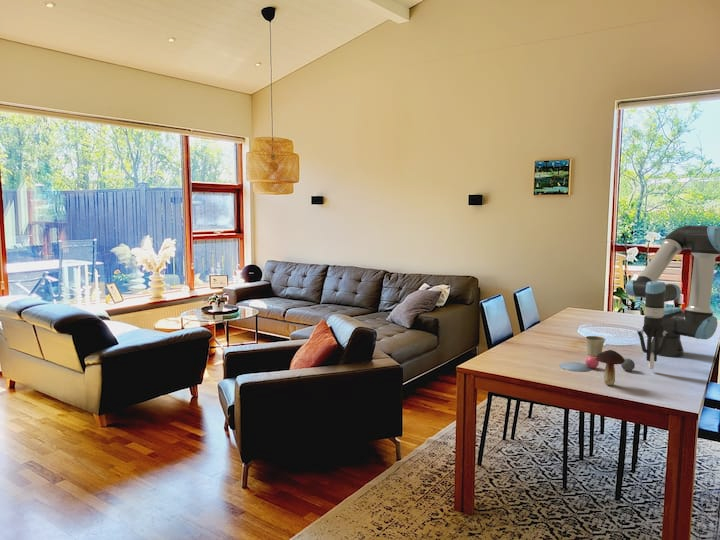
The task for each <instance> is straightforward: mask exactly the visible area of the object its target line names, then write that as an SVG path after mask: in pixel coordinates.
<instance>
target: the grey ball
mask: <svg viewBox="0 0 720 540" xmlns="http://www.w3.org/2000/svg"><path fill="white" fill-rule="evenodd" d="M624 360H625V362H624V363H622V364H620V365H621V368H622V369H623V370H624V371H627V372H630V371H633V370H634V369H635V366H636V364H635V362H634V361H633V360H632V359H631V358H624Z"/></svg>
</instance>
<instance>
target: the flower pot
mask: <svg viewBox="0 0 720 540" xmlns="http://www.w3.org/2000/svg"><path fill="white" fill-rule="evenodd" d="M584 338H585V339H584V340H585V342H586V349H587V351H586V352H587V355H589V357H590V356H593V357H597V355H598V354H600V353H602V352H603V346H604V343H605V341H606V338H604V337H602V336H595V335H588V336H587V335H586V336H584Z"/></svg>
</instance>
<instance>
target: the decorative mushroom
mask: <svg viewBox="0 0 720 540" xmlns="http://www.w3.org/2000/svg"><path fill="white" fill-rule="evenodd" d="M595 357H596V360H597V361H599V363H604V364H605V367H604V373H603V374H604V376H603V382H604V383H605V384H606V386H613V385H614V384H615V382H616V368H615V365H621V364H622V363H624V362H625V360H624V359H625V358H624V356H623V355H621V354H620V353H619V352H617V351H616V350H613V349H608V350H605V351H602V353H600V354H598V355H597V356H595Z"/></svg>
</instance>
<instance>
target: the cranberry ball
mask: <svg viewBox="0 0 720 540" xmlns="http://www.w3.org/2000/svg"><path fill="white" fill-rule="evenodd" d="M596 357H597V356H590V355H589V356H588V357H587V358H586V360H585V364H586V365H587V366H588V367H589V368H592V369H596V368H597V367H598V366H599V363H600V362H599V361H597V360H596Z"/></svg>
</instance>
